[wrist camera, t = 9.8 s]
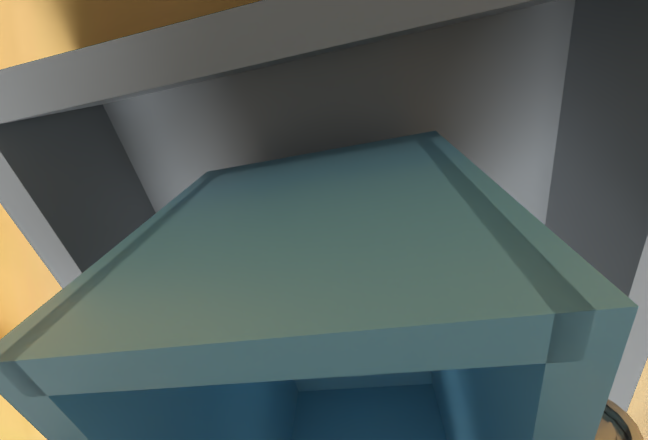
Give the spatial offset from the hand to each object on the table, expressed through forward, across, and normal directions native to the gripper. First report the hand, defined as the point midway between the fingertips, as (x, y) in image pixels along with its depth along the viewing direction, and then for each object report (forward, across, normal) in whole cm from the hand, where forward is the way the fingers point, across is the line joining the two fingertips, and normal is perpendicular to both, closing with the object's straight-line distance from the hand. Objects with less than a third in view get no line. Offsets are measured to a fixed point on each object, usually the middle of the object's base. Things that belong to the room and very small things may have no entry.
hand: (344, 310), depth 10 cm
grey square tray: (+4, 0, 0) cm, 4 cm away
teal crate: (+1, 0, 0) cm, 1 cm away
